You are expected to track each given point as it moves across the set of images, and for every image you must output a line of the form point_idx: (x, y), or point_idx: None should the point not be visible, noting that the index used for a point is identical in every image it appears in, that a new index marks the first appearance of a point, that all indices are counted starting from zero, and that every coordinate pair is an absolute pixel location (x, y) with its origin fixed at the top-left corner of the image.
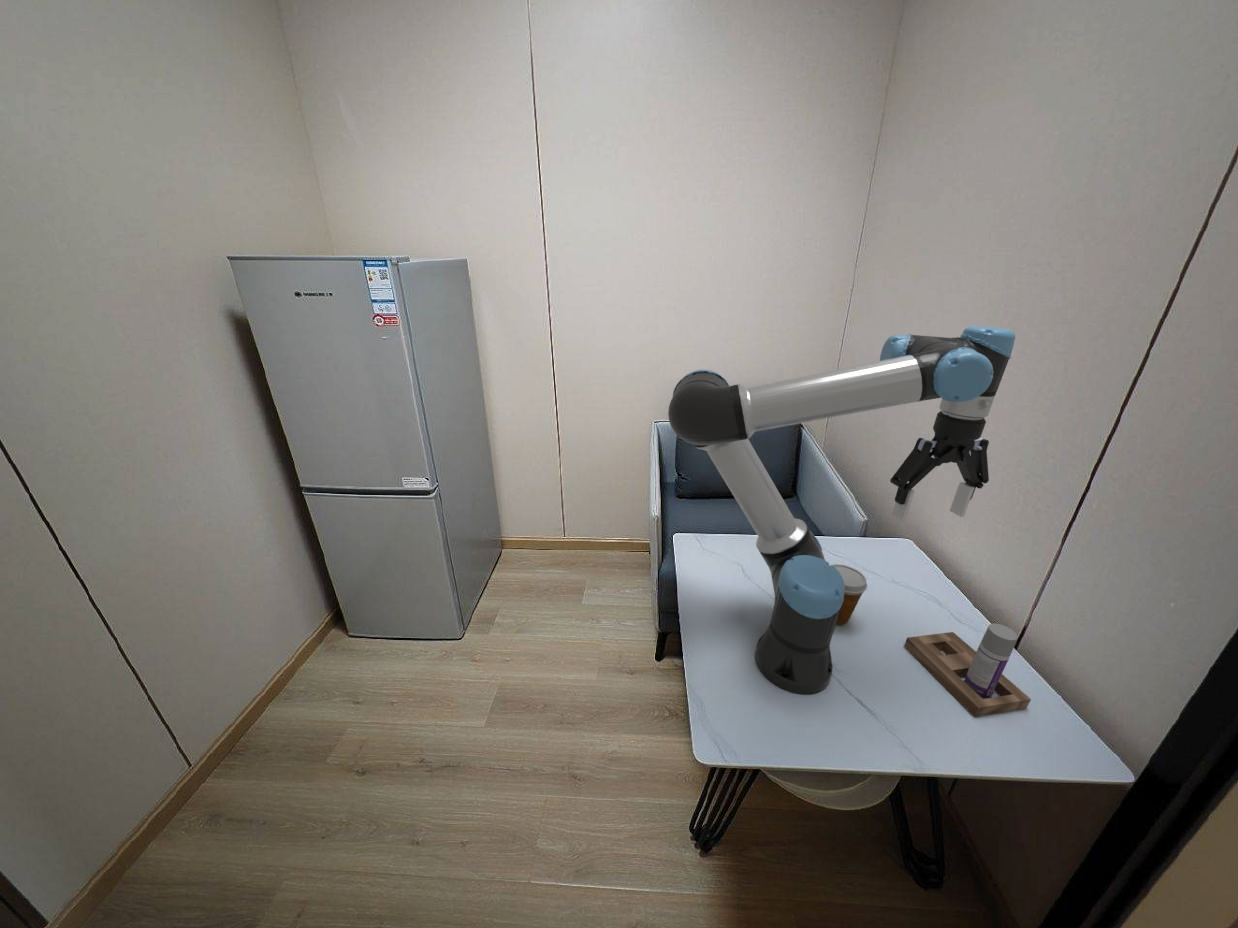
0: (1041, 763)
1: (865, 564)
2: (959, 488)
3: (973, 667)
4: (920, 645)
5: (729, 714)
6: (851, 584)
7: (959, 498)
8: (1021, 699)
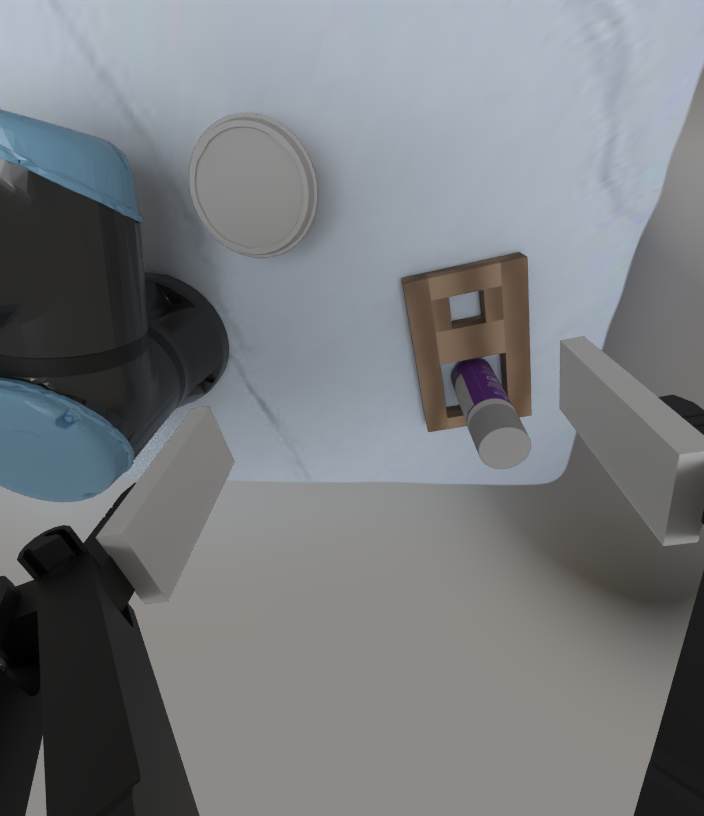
0: (463, 475)
1: None
2: (646, 436)
3: (459, 396)
4: (418, 306)
5: None
6: (256, 235)
7: (603, 422)
8: None
